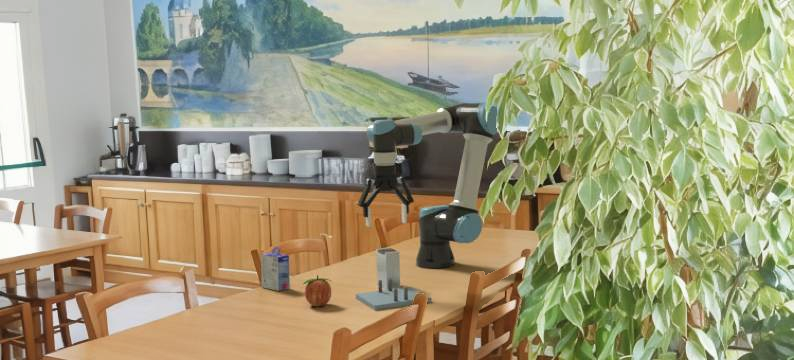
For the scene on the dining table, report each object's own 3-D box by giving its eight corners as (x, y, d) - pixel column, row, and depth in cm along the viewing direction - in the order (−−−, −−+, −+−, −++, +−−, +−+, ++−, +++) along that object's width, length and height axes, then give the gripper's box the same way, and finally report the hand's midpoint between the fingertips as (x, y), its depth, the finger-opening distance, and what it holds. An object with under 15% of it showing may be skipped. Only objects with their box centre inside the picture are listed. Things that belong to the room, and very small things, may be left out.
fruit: (334, 307, 271) (332, 277, 270) (304, 309, 270) (303, 279, 268) (331, 301, 280) (330, 271, 278) (302, 303, 278) (301, 273, 277)
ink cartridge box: (291, 288, 298) (289, 248, 297) (279, 291, 294) (277, 251, 293) (273, 284, 305) (271, 245, 303) (261, 287, 301) (259, 247, 299)
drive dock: (410, 290, 290) (409, 275, 290) (431, 302, 275) (431, 285, 274) (355, 298, 282) (355, 282, 282) (374, 310, 267) (374, 293, 266)
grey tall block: (390, 283, 302) (389, 247, 301) (400, 288, 294) (399, 251, 293) (377, 284, 300) (376, 249, 299) (386, 290, 292) (385, 253, 291)
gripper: (413, 161, 301) (414, 220, 303) (347, 165, 291) (349, 226, 293) (422, 163, 294) (423, 223, 296) (355, 167, 284) (356, 229, 286)
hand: (386, 224), depth 295 cm, fingers open, 13 cm apart
